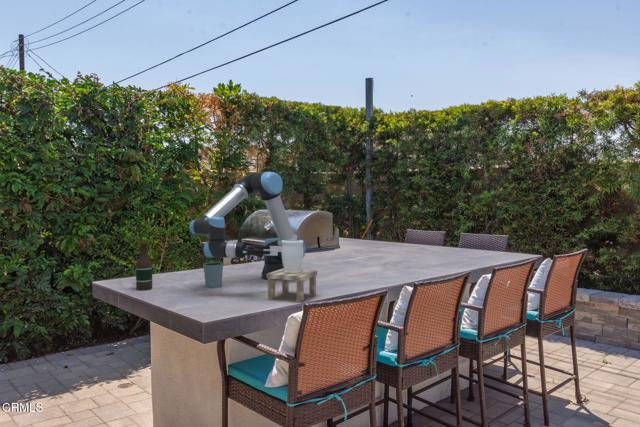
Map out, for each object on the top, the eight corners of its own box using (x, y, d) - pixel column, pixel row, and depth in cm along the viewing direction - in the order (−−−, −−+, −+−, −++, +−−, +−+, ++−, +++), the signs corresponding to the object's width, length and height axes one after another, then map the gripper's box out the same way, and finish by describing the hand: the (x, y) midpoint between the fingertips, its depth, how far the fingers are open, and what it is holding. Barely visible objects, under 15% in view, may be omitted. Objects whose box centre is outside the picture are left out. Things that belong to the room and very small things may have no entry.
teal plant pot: (226, 285, 259) (226, 262, 258) (215, 288, 250) (215, 265, 249) (211, 283, 263) (211, 261, 262) (199, 287, 254) (199, 264, 253)
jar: (281, 270, 234) (281, 239, 234) (302, 270, 235) (302, 239, 235) (281, 274, 224) (281, 241, 223) (304, 273, 225) (304, 241, 224)
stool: (266, 299, 225) (266, 273, 224) (283, 292, 242) (283, 268, 241) (302, 303, 218) (302, 276, 218) (317, 295, 235) (317, 270, 234)
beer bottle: (155, 288, 251) (155, 241, 250) (145, 291, 243) (144, 243, 242) (143, 287, 253) (142, 241, 252) (132, 290, 246) (132, 242, 245)
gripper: (243, 254, 245) (285, 255, 242) (228, 261, 220) (274, 262, 217) (243, 239, 244) (285, 240, 242) (228, 245, 219) (274, 245, 217)
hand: (280, 250), depth 229 cm, fingers open, 13 cm apart
